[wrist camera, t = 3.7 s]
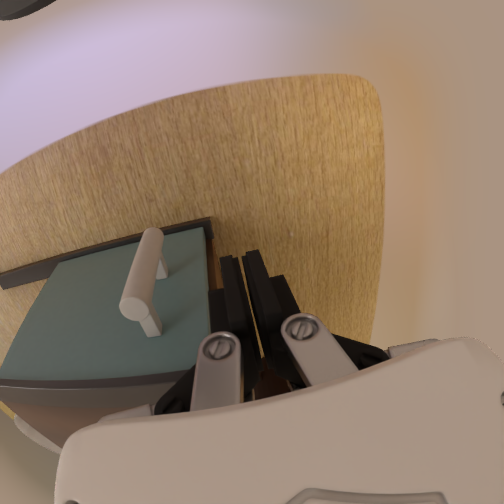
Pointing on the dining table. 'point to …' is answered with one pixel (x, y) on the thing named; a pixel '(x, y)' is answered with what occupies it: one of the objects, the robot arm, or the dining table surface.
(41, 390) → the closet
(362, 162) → the dining table surface
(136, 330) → the door
